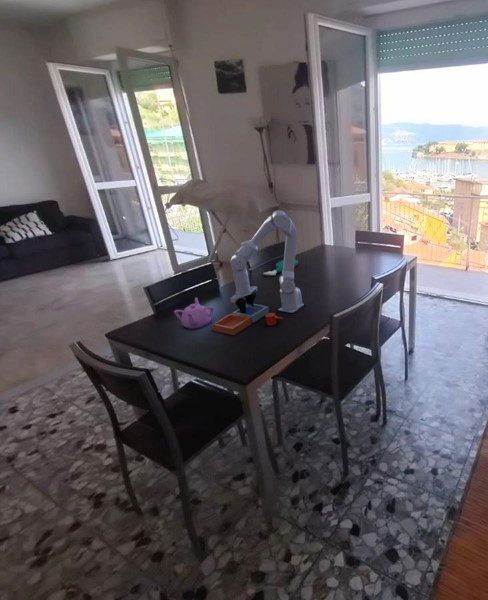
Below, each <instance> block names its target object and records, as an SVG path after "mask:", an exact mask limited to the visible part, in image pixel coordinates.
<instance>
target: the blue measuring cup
mask: <svg viewBox="0 0 488 600" xmlns="http://www.w3.org/2000/svg"><path fill="white" fill-rule="evenodd" d="M252 309H253V310H258V308H255V307H251V304H247V303H246V314H247V315H251V314H253V312H252Z"/></svg>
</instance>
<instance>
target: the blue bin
mask: <svg viewBox="0 0 488 600" xmlns="http://www.w3.org/2000/svg"><path fill="white" fill-rule="evenodd" d="M253 307H255V308H258V310H253V309H252V312H253V314H251V315H247V314H243V313H241V311H240V309H239V308H238V309H236V310H235V311H233V312H232V314H236V315H241V316H246V317H251V321H252V324H253V323H255V322H257V321H258V320H260V319H262V318H263V317H265V315H266V314H268V313H270V308H269V306H268V305H263V304H256V303H254V306H253Z"/></svg>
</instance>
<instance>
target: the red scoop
mask: <svg viewBox="0 0 488 600" xmlns="http://www.w3.org/2000/svg"><path fill="white" fill-rule="evenodd" d="M264 317H265V321H266V322H265V323H266V325H267V326H275V325H276V324H277V320H283V319H284V318H283V317H282V316H278V315H276V313H275V312H269V313H267V314H266V315H264Z"/></svg>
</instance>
